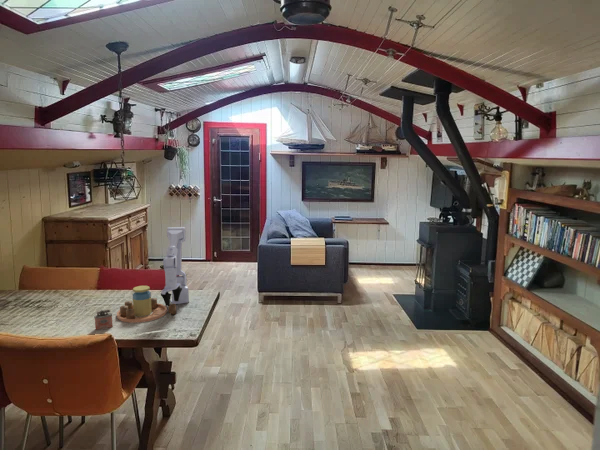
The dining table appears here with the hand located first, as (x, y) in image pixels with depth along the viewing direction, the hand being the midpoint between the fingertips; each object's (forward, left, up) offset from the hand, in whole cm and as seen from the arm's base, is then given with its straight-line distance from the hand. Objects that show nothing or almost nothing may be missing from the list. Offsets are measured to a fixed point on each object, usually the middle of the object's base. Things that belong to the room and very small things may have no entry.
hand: (172, 303), depth 234 cm
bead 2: (0, 0, -6) cm, 6 cm away
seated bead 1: (+24, -5, -5) cm, 25 cm away
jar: (+15, -5, -6) cm, 17 cm away
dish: (+15, -5, -6) cm, 17 cm away
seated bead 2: (+21, -11, -5) cm, 25 cm away
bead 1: (+9, -12, -5) cm, 15 cm away
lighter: (+34, +8, -6) cm, 35 cm away
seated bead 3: (+21, +1, -5) cm, 22 cm away
